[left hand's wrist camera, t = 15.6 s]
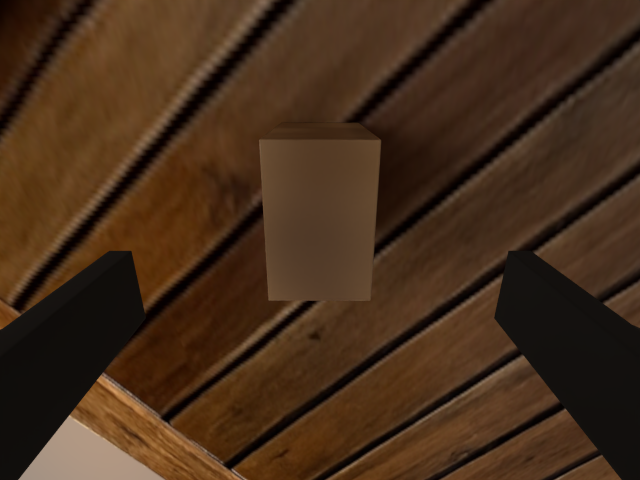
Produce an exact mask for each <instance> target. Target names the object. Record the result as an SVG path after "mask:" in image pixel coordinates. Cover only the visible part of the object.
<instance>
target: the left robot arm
mask: <svg viewBox="0 0 640 480" xmlns="http://www.w3.org/2000/svg"><path fill="white" fill-rule="evenodd" d="M145 318H146V317H145V312H144V308H143V303H142V298H141V294H140V289H139V284H138V280H137V275H136V270H135V266H134V261H133V256H132V252H131V251H109V252H107V253H106V254H104V255H103V256H102V257H100V258H99V259H98V260H96V261H95V262H93V263H92V264H91V265H89V266H88V267H87V268H85V269H84V270H83V271H81V272H80V273H78V274H77V275H76V276H74V277H73V278H72V279H70V280H69V281H67V282H66V283H65V284H63V285H62V286H61V287H59V288H58V289H56V290H55V291H54V292H52V293H51V294H50V295H48V296H47V297H46V298H44V299H43V300H41V301H40V302H39V303H37V304H36V305H35V306H33V307H32V308H30V309H29V310H28V311H26V312H25V313H24V314H22V315H21V316H19V317H18V318H17V319H15V320H14V321H13V322H11V323H10V324H9V325H7V326H6V327H4V328H3V329H1V330H0V480H18V479H19V478H20V477H21V475H22V474H23V473H24V472H25V470H26V469H27V468H28V467H29V465H30V464H31V463H32V462H33V460H34V459H35V458H36V456H37V455H38V454H39V453H40V451H41V450H42V449H43V448H44V446H45V445H46V444H47V443H48V441H49V440H50V439H51V437H52V436H53V435H54V434H55V432H56V431H57V430H58V429H59V427H60V426H61V425H62V424H63V422H64V421H65V420H66V419H67V417H68V416H69V415H70V413H71V412H72V411H73V410H74V408H75V407H76V406H77V405H78V403H79V402H80V401H81V399H82V398H83V397H84V396H85V394H86V393H87V392H88V391H89V389H90V388H91V387H92V386H93V384H94V383H95V382H96V380H97V379H98V378H99V377H100V375H101V374H102V373H103V372H104V370H105V369H106V368H107V367H108V365H109V364H110V363H111V361H112V360H113V359H114V358H115V356H116V355H117V354H118V353H119V351H120V350H121V349H122V348H123V346H124V345H125V344H126V342H127V341H128V340H129V339H130V337H131V336H132V335H133V334H134V332H135V331H136V330H137V329H138V327H139V326H140V325H141V323H142V322H143V321H144V320H145ZM494 318H495V320H496V321H497V322H498V323H499V325H500V326H501V327H502V329H503V330H504V331H505V332H506V334H507V335H508V336H509V337H510V339H511V340H512V341H513V342H514V344H515V345H516V346H517V348H518V349H519V350H520V351H521V353H522V354H523V355H524V356H525V358H526V359H527V360H528V361H529V363H530V364H531V365H532V367H533V368H534V369H535V370H536V372H537V373H538V374H539V375H540V377H541V378H542V379H543V380H544V382H545V383H546V384H547V386H548V387H549V388H550V389H551V391H552V392H553V393H554V394H555V396H556V397H557V398H558V399H559V401H560V402H561V403H562V405H563V406H564V407H565V408H566V410H567V411H568V412H569V413H570V415H571V416H572V417H573V419H574V420H575V421H576V422H577V424H578V425H579V426H580V427H581V429H582V430H583V431H584V432H585V434H586V435H587V436H588V438H589V439H590V440H591V441H592V443H593V444H594V445H595V446H596V448H597V449H598V450H599V451H600V453H601V454H602V455H603V457H604V458H605V459H606V460H607V462H608V463H609V464H610V465H611V467H612V468H613V469H614V470H615V472H616V473H617V474H618V476H619V477H620V478H621V479H622V480H640V328H638V327H636V326H634V325H631V324H630V323H629V322H627V321H626V320H625V319H623V318H622V317H621V316H619V315H618V314H616V313H615V312H614V311H612V310H611V309H610V308H608V307H607V306H605V305H604V304H603V303H601V302H600V301H599V300H597V299H596V298H594V297H593V296H592V295H590V294H589V293H588V292H586V291H585V290H584V289H582V288H581V287H579V286H578V285H577V284H575V283H574V282H573V281H571V280H570V279H568V278H567V277H566V276H564V275H563V274H562V273H560V272H559V271H557V270H556V269H555V268H553V267H552V266H551V265H549V264H548V263H547V262H545V261H544V260H542V259H541V258H540V257H538V256H537V255H536V254H534V253H533V252H531V251H509V252H508V256H507V261H506V266H505V270H504V275H503V280H502V284H501V289H500V294H499V298H498V303H497V308H496V312H495V317H494Z"/></svg>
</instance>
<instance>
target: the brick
mask: <svg viewBox="0 0 640 480" xmlns="http://www.w3.org/2000/svg"><path fill="white" fill-rule="evenodd" d="M259 146H260V163H261V180H262V197H263V213H264V230H265V247H266V264H267V280H268V297H269V300H320V301H370V300H371V288H372V273H373V258H374V243H375V228H376V213H377V198H378V183H379V168H380V153H381V140H380V139H379V138H378V137H376V136H375V135H374V134H372V133H371V132H370V131H369V130H367V129H366V128H365V127H363V126H362V125H361V124H359V123H280V124H279V125H278V126H277V127H275V128H274V129H273V130H271V131H270V132H269V133H267V134H266V135H265V136H263V137H262V138H261V139H259Z"/></svg>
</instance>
